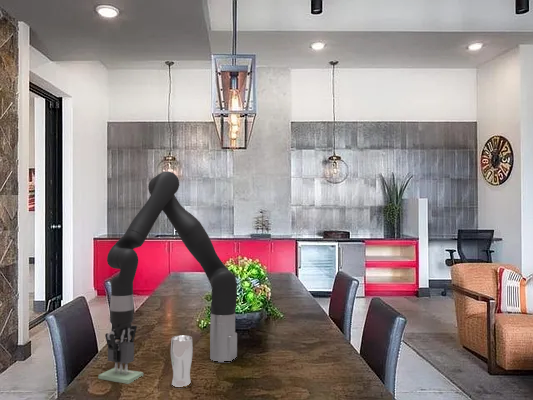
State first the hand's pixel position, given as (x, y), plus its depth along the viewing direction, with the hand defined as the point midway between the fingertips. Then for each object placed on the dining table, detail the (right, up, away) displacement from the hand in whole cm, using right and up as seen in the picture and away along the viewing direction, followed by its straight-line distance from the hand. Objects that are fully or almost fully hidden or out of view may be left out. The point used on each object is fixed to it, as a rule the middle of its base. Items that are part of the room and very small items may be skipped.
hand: (121, 359), depth 165 cm
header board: (0, -6, 0) cm, 6 cm away
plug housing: (0, 0, 0) cm, 0 cm away
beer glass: (+21, -6, -6) cm, 23 cm away
